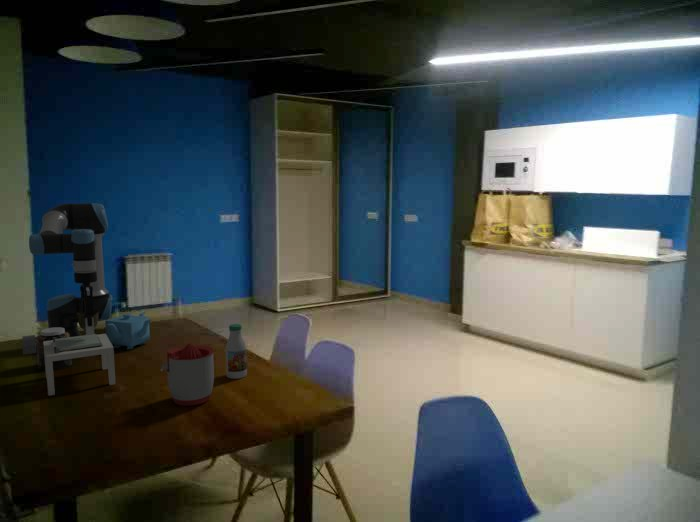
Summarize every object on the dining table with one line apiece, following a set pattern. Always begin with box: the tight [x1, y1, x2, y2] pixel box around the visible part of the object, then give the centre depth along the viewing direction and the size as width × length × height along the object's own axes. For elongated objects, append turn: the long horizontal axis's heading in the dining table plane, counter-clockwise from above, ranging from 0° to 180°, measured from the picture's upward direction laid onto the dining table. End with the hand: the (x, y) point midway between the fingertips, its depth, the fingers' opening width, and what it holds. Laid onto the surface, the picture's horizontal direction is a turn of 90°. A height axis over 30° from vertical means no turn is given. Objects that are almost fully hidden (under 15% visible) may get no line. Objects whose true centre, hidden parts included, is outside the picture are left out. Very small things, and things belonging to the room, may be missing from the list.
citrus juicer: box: [160, 343, 215, 407], centre depth 181 cm, size 16×17×20 cm
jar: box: [36, 327, 73, 371], centre depth 216 cm, size 12×12×15 cm
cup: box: [76, 310, 99, 334], centre depth 200 cm, size 8×7×8 cm
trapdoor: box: [21, 333, 101, 355], centre depth 196 cm, size 24×14×4 cm, turn 121°
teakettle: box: [104, 311, 153, 350], centre depth 244 cm, size 19×19×15 cm
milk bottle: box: [225, 323, 248, 380], centre depth 205 cm, size 8×8×20 cm
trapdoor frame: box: [43, 333, 117, 396], centre depth 200 cm, size 22×22×16 cm
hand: (89, 332), depth 200 cm, fingers closed on cup, 7 cm apart
